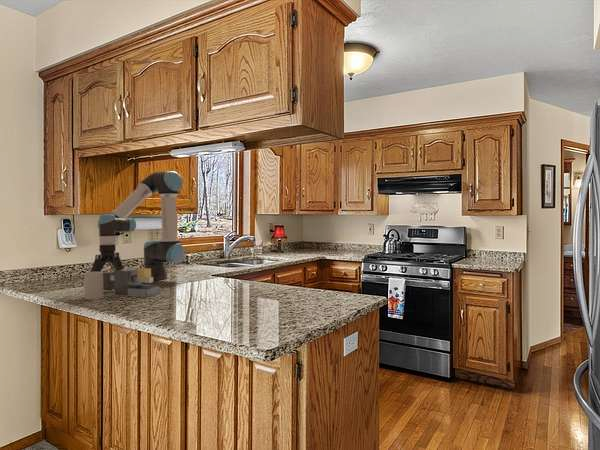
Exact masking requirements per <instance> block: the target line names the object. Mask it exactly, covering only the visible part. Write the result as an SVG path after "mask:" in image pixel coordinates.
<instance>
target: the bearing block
mask: <svg viewBox="0 0 600 450" xmlns="http://www.w3.org/2000/svg"><path fill="white" fill-rule="evenodd" d="M138 269H140V267H139V268H137V267H126V268H124V269H120V270H115V269H114V271H113V272H114V290H113V291H114V296H115V295H116V296H117V295H118V296H127V297H129V296H128V288H132V289H141V285H142V282H132V276H138Z"/></svg>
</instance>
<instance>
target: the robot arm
mask: <svg viewBox="0 0 600 450" xmlns="http://www.w3.org/2000/svg"><path fill="white" fill-rule="evenodd" d="M182 188H183V178H182V176H181V175H180V174H179V173H178V172H177V171H174V170H173V171H171V170H168V171H155V172H153V173H150V174H149V175H147V176H146V177H145V178H143V179H142V180H141V181H140V182H139V183H138V184H137V188H135V189H134V190H133V191H132V192H131V193H130V194H129V195H128V196H127V197H126V198H125V199H124V200H123V201H121V203H120V204H119V205H117V206H116V207H115V208H114V209H113V210H112V211H111V212H110V213H106V214H105V213H103V214H102V213H101V214H99V218H98V222H97V228H98V234H99V241H98V243H99V246H98V247H99V250H98V251H99V252H100V254H95V259H94V261H93V264H92V267H91V270H90V272H102V269H103V268H104V266H105V265H106V264H107V263H110V264H111V266H112V267H113V268H114V270H120V269H125V268H124V265H123V262H122V259H121V257H120V253H119V252H116V243H117V242H116V233H131V232H134V231H135V230H136V228H137V221H136V219H135V218H133V217H129V216H130V214H131V213H132V212H133V211H134V210H135V209H136V208H138V206H140V204H142V203H143V202H144V201H145V200H146V199H147V198H148V197H151V196H152V195H153V194H155V193H157V192H158V193H157V195H158V196H159V197H160V201H161V202H160V203H161V204H160V205H161V207H160V209H161V210H160V211H161V238H160V239H159V240H152V241H151V240H150V241H146V242H145V241H144V244H143V268H151V277H153V281H159V280H166V279H167V278H168V273H167V270H166V267H165V263H167V264H168V263H169V264H175V263H176V264H177V263H179V262H180V261H181V260H182V259H183V257H184V255H185V247H184V246H183V244H181V240H180V238H178V223H177V222H178V221H177V220H178V219H177V212H178V211H177V197H178V196H179V193H180V192H179V191H180V190H182Z"/></svg>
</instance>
